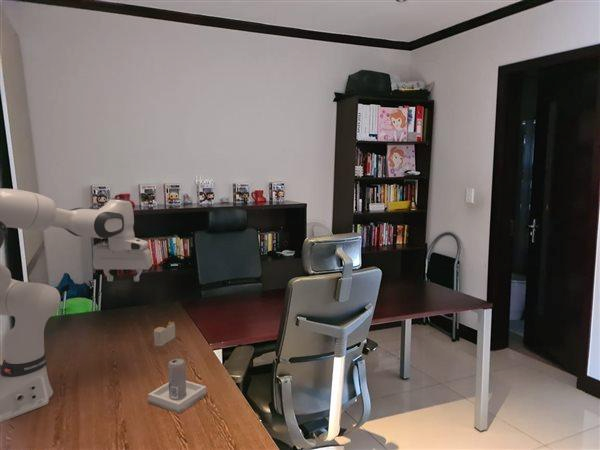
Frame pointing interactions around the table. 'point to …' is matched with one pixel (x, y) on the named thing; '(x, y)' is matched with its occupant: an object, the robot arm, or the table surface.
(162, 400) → the tray
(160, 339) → the model
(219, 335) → the table surface
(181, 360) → the energy drink
